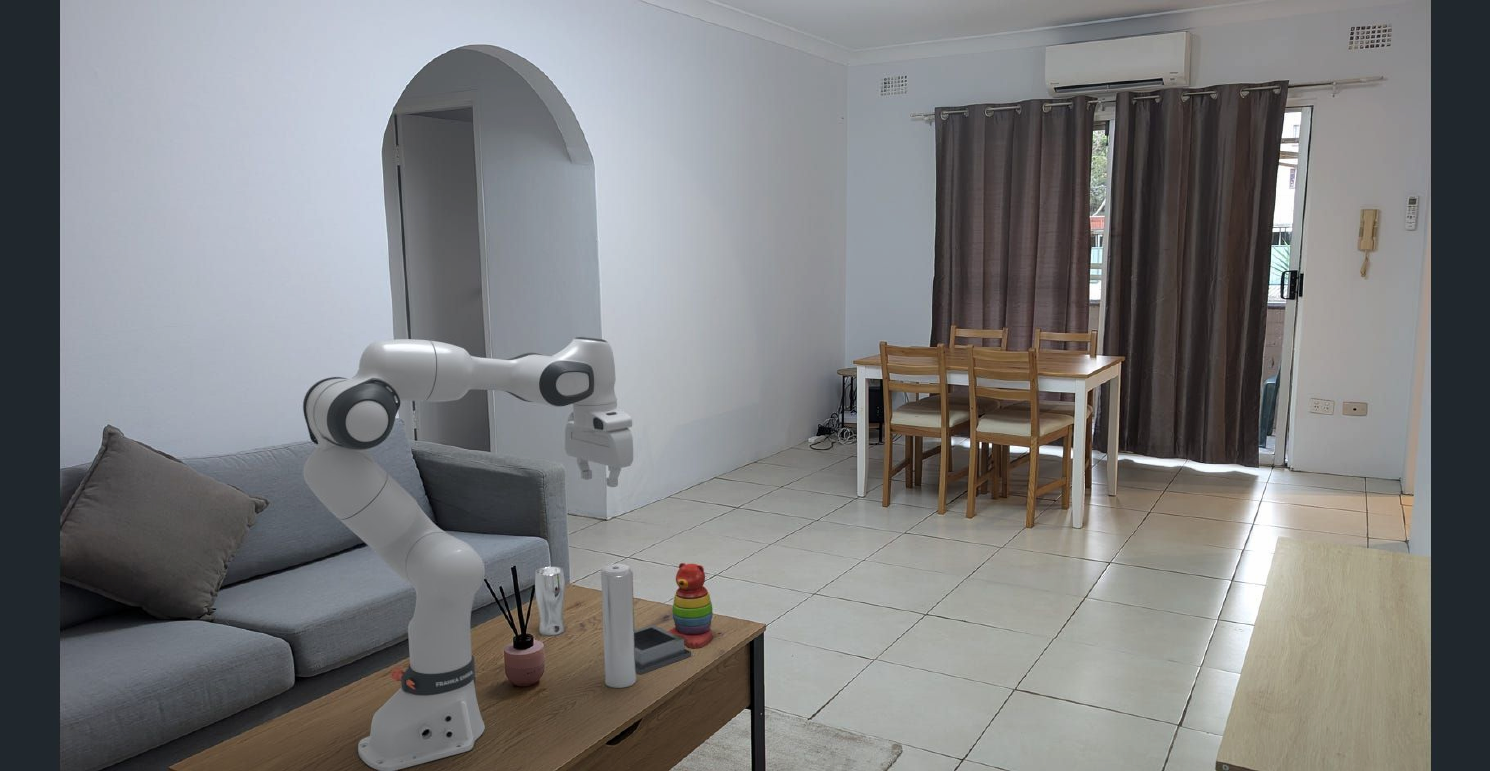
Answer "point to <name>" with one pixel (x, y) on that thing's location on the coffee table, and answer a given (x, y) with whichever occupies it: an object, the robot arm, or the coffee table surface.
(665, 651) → the collar
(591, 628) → the coffee table surface
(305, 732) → the coffee table surface
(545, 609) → the beer glass
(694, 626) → the stacking bear
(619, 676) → the grey cylinder
